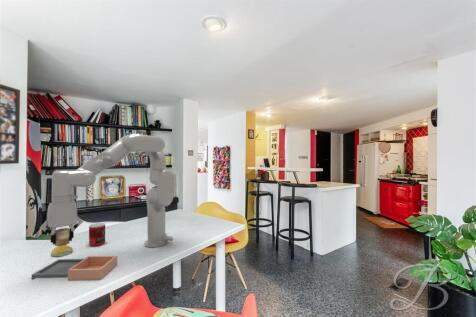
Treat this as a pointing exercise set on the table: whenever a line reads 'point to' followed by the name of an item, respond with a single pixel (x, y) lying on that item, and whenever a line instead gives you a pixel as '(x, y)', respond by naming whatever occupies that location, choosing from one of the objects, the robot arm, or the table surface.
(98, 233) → the canned food
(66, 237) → the beech cylinder
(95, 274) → the salmon square tray
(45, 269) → the charcoal tray
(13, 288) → the table surface
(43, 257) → the table surface
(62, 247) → the bread roll
